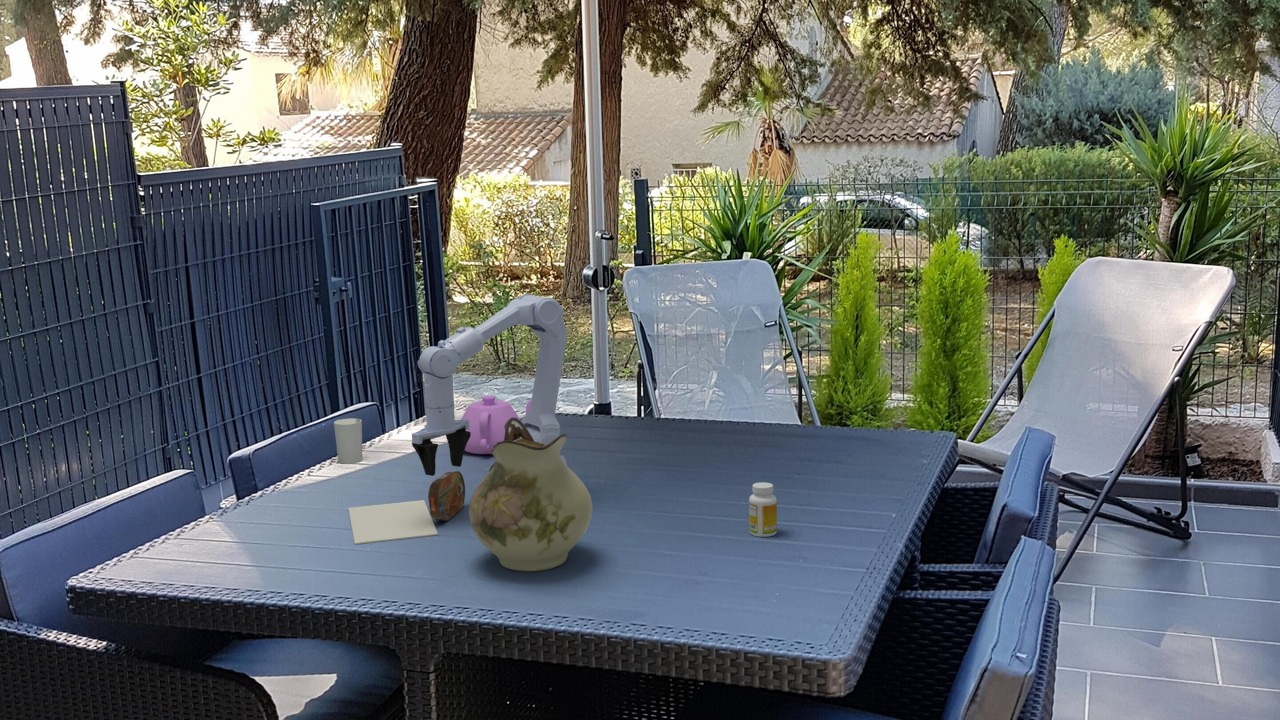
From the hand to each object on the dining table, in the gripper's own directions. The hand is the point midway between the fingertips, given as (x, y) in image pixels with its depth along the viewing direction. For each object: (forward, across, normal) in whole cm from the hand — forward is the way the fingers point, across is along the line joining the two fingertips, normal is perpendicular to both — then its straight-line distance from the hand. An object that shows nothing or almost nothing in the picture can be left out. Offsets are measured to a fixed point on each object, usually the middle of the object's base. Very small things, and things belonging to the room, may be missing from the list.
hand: (443, 470), depth 238 cm
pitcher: (+10, +10, +31) cm, 34 cm away
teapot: (+11, -48, -29) cm, 57 cm away
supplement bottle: (+11, -26, +60) cm, 66 cm away
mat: (+10, +8, -8) cm, 15 cm away
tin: (+10, -1, -1) cm, 10 cm away
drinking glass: (+10, -20, -53) cm, 58 cm away
